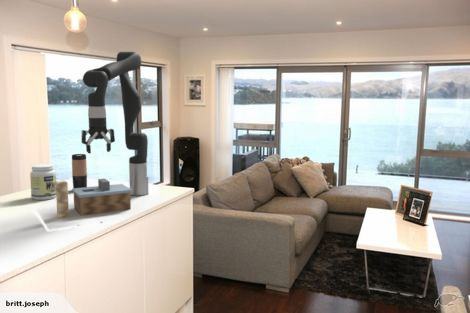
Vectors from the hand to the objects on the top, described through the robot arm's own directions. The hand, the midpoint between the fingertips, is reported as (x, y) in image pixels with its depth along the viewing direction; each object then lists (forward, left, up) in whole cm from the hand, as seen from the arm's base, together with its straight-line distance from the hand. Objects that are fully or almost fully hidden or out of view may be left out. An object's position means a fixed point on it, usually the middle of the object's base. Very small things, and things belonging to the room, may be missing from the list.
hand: (98, 152), depth 192 cm
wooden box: (-1, 0, -27) cm, 27 cm away
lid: (-1, 0, -18) cm, 18 cm away
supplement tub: (+18, -40, -27) cm, 52 cm away
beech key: (+17, +5, -27) cm, 33 cm away
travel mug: (-2, -50, -27) cm, 57 cm away
